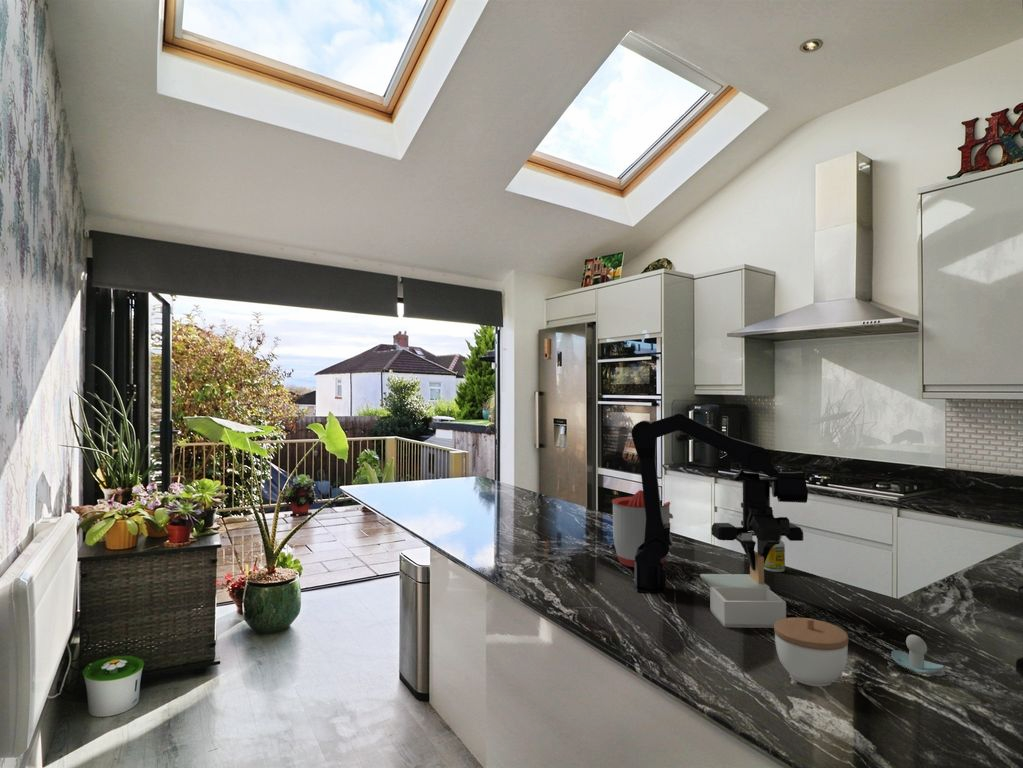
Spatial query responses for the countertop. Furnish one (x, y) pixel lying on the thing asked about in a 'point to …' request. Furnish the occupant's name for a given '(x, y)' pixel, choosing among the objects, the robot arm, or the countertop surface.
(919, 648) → the pacifier
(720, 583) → the lid
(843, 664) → the lidded jar
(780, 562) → the supplement bottle
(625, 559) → the citrus juicer
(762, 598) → the tub
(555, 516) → the countertop surface
